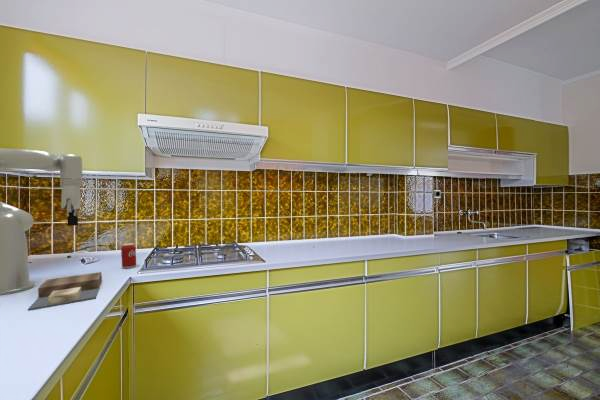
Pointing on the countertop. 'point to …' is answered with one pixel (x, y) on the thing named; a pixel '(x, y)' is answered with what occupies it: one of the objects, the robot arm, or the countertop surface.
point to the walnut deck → (70, 283)
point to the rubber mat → (83, 297)
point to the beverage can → (128, 255)
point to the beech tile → (64, 295)
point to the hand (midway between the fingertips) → (72, 225)
